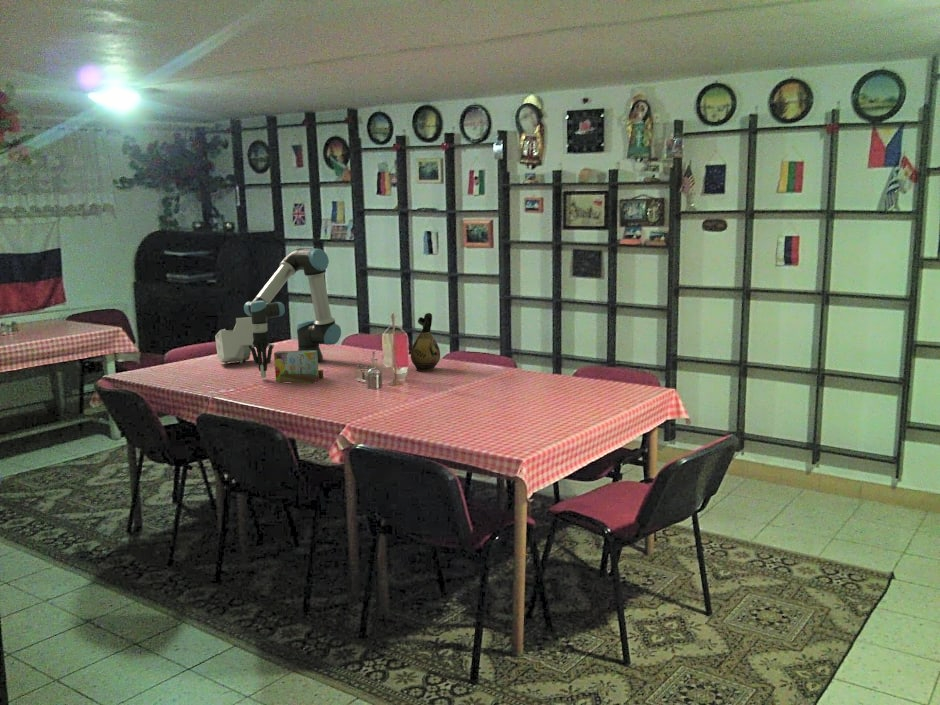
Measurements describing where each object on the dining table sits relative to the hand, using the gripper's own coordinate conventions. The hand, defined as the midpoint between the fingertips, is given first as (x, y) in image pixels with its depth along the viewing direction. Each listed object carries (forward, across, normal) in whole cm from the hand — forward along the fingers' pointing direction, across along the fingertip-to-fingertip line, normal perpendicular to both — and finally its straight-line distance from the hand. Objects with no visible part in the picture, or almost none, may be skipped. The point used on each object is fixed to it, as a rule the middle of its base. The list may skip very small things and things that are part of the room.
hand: (263, 377), depth 429 cm
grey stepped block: (+2, -35, +43) cm, 56 cm away
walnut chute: (+1, +21, 0) cm, 21 cm away
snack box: (+2, +18, 0) cm, 18 cm away
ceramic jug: (+2, +79, +29) cm, 84 cm away
